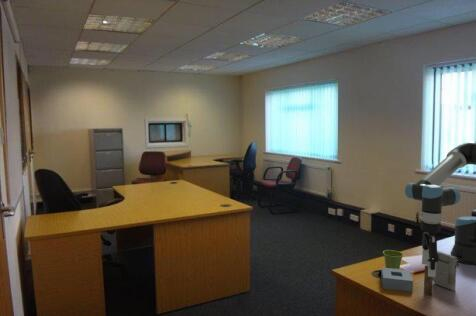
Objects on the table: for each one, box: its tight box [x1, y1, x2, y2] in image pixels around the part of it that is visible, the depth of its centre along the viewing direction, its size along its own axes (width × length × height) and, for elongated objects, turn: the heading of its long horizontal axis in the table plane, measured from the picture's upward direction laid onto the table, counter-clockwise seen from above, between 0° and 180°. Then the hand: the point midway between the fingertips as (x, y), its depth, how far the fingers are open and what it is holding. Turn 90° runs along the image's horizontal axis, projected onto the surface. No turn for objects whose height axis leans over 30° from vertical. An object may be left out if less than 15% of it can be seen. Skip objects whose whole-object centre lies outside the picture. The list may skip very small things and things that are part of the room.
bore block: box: [380, 267, 414, 293], centre depth 166 cm, size 12×12×5 cm
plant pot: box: [382, 249, 404, 269], centre depth 182 cm, size 9×9×9 cm
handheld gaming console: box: [432, 250, 458, 291], centre depth 163 cm, size 9×4×15 cm, turn 28°
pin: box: [423, 265, 434, 296], centre depth 157 cm, size 3×3×12 cm
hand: (428, 270), depth 156 cm, fingers open, 13 cm apart
